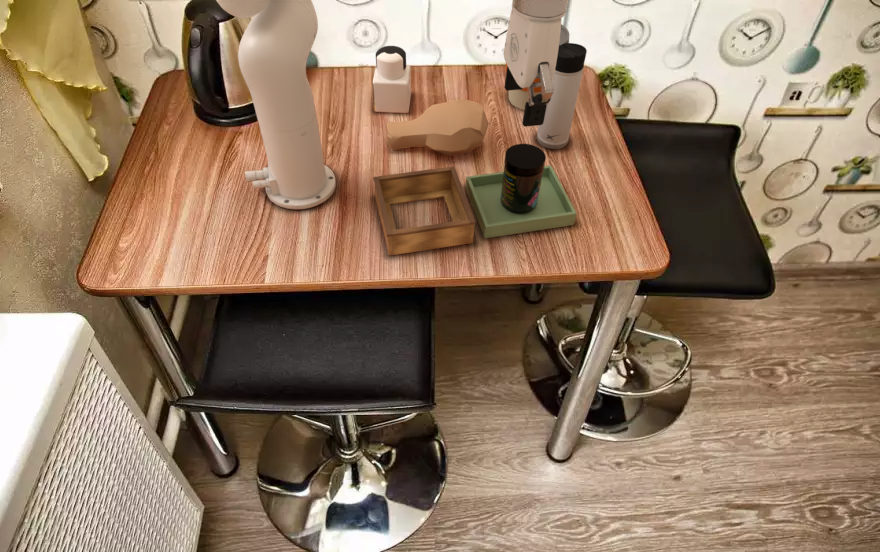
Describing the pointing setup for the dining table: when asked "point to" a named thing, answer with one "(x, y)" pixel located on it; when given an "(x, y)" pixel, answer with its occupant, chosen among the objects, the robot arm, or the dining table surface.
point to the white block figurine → (391, 81)
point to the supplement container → (522, 178)
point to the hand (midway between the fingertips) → (523, 106)
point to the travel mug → (562, 96)
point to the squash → (442, 128)
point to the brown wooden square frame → (424, 188)
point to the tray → (500, 221)
